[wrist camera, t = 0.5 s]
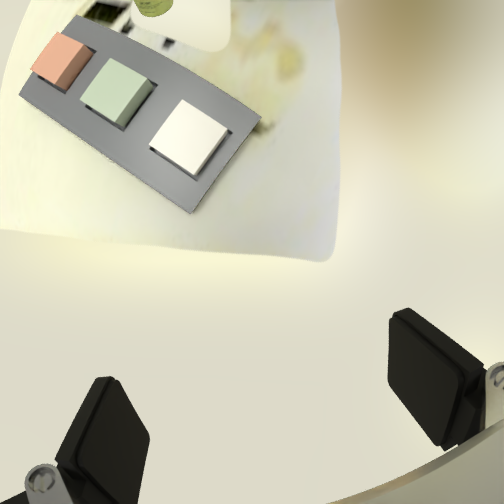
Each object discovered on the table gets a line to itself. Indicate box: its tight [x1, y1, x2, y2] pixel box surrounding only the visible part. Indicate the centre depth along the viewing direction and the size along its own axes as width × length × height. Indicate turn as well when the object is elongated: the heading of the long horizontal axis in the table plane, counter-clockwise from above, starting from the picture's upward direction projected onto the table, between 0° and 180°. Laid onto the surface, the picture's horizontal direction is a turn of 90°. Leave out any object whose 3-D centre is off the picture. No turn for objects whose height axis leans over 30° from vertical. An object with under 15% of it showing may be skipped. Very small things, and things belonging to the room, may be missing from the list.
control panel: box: [19, 15, 261, 214], centre depth 31 cm, size 14×32×2 cm, turn 54°
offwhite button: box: [149, 99, 227, 176], centre depth 31 cm, size 6×6×4 cm
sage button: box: [80, 58, 154, 127], centre depth 29 cm, size 6×6×4 cm
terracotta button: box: [30, 32, 94, 91], centre depth 26 cm, size 6×6×4 cm
